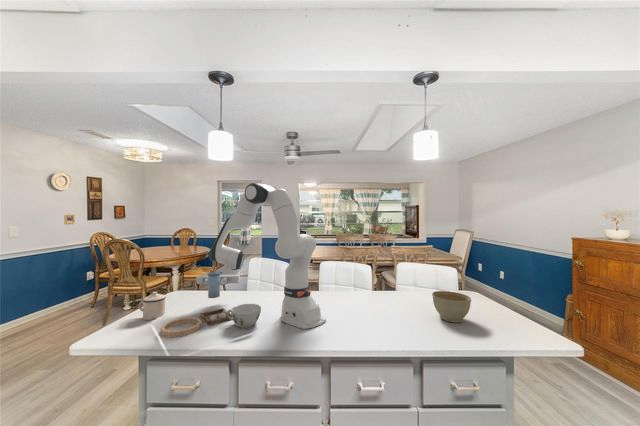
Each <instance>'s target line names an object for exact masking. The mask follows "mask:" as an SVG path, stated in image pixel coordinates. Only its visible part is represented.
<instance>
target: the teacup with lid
mask: <svg viewBox="0 0 640 426" xmlns="http://www.w3.org/2000/svg"><path fill="white" fill-rule="evenodd" d="M166 297H167V296H166V295H165V294H162V293H158V291H153V292H151V294H150V295H148V296H145V297H144V298H143V299H142V301H140V302H139V303H138V309H139V310H140V312H142V319H143V320H144V321H153V320H154V321H155V320H157V319H158V318H161V317H163V316H165V314H166V312H165V311H166Z"/></svg>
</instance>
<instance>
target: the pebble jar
mask: <svg viewBox="0 0 640 426" xmlns="http://www.w3.org/2000/svg"><path fill="white" fill-rule="evenodd" d="M207 274H208V284H207V297H208V299H216V298H219V297H220V295H221V287H220V286H221V285H220V284H219V280H220V272H215V271H211V272H207Z"/></svg>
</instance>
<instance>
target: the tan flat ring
mask: <svg viewBox="0 0 640 426" xmlns="http://www.w3.org/2000/svg"><path fill="white" fill-rule="evenodd" d="M187 323H188V324H189V323H190V324H191V323H192V324H196V325H193V326H191V327H189V328H185V329H181V330H168V329H169V328H171V327H174V326H176V325H181V324H187ZM201 326H202V319H200V317H199V318H198V317H193V316H191V317H182V318H178V319H177V318H176V319H173V320H170V321H168V322H166V323H164V324H163V325H162V326H161V327H160V333H161V335H162V336H163V337H166V338H175V337H177V338H178V337H184V336H187V335H190V334H193V333H195V332H196V331H198V330H200V328H201Z"/></svg>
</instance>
